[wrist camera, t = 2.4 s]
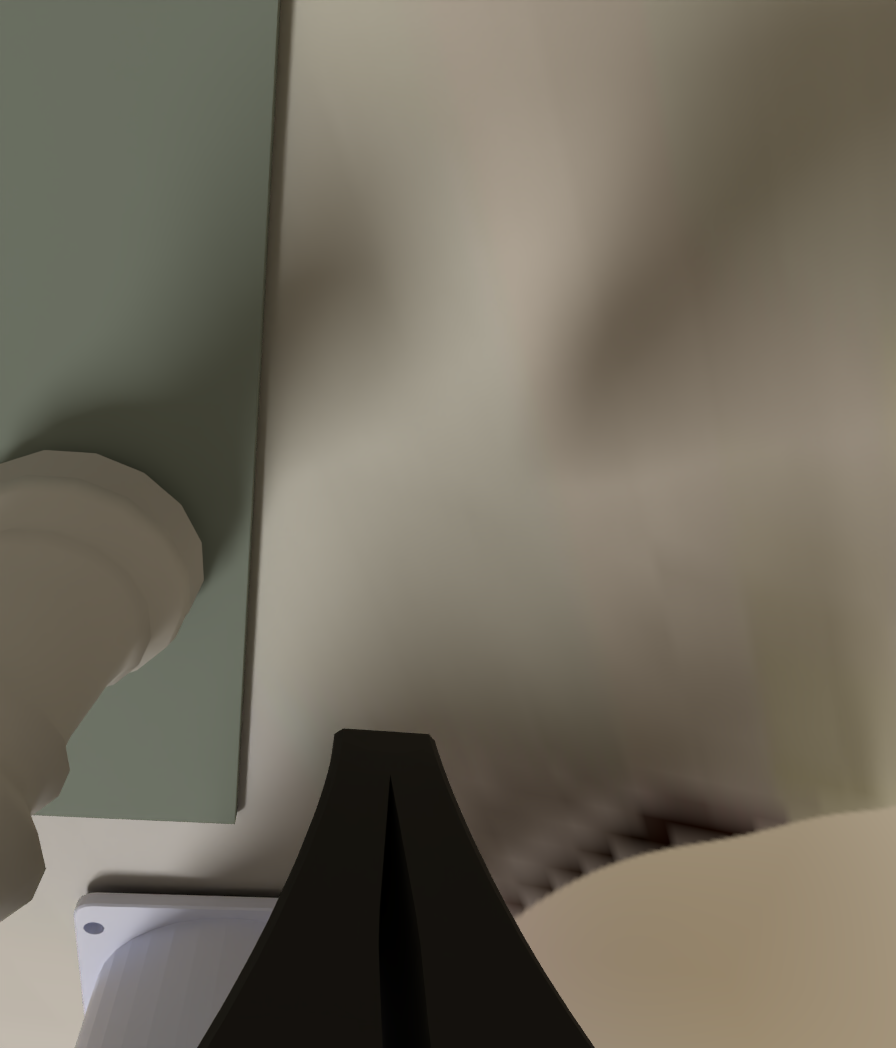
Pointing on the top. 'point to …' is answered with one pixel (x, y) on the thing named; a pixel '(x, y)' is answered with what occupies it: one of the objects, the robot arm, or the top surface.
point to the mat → (145, 335)
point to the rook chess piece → (75, 620)
